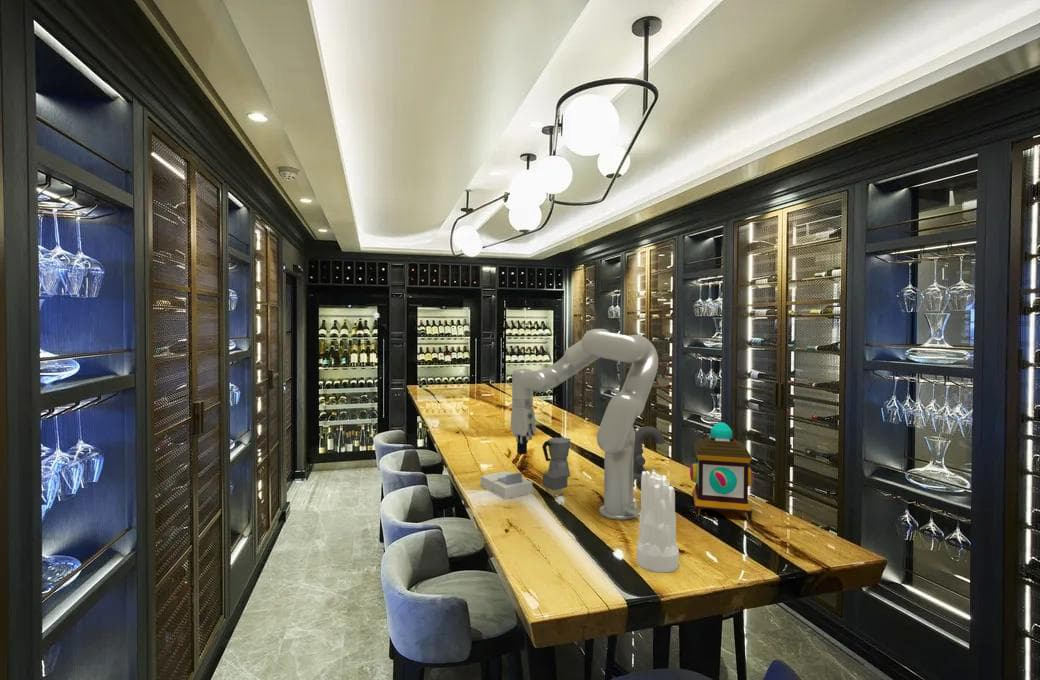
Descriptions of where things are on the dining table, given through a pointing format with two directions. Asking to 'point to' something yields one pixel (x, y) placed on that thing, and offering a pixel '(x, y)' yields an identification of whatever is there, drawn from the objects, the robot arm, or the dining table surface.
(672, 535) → the decorative vase
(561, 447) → the coffeepot
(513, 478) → the plate
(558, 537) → the dining table surface
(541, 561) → the dining table surface
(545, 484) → the plug
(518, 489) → the socket
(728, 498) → the decorative lantern
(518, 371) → the robot arm
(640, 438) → the faucet
